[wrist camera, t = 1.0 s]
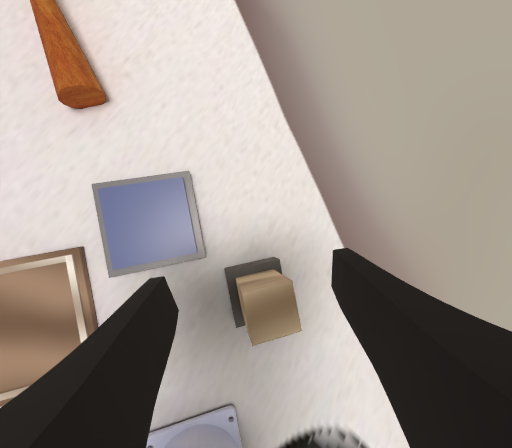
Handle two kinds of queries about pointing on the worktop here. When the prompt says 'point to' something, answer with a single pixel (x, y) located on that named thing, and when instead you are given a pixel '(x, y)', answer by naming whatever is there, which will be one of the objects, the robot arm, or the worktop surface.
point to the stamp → (263, 300)
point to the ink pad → (148, 222)
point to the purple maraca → (66, 58)
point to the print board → (41, 315)
